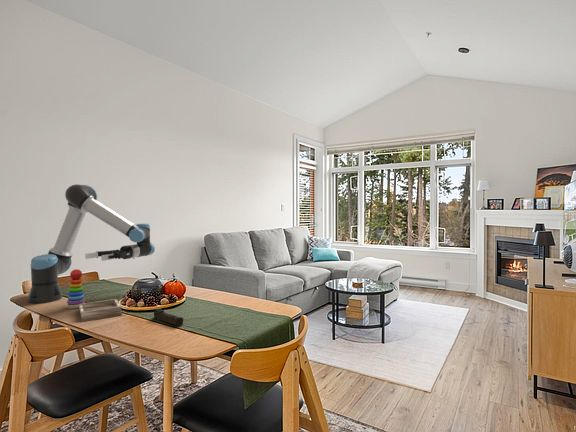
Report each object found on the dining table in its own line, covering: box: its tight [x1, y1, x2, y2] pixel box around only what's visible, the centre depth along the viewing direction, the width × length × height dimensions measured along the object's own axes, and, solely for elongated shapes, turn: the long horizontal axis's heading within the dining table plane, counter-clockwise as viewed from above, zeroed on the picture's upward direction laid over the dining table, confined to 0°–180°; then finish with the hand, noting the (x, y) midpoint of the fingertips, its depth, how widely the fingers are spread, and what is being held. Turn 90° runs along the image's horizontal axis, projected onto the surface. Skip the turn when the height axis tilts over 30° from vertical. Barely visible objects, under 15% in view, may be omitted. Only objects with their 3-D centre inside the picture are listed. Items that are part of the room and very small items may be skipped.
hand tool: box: [153, 308, 184, 328], centre depth 155 cm, size 19×4×5 cm, turn 50°
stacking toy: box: [66, 268, 86, 310], centre depth 176 cm, size 8×8×19 cm
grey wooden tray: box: [78, 298, 123, 323], centre depth 167 cm, size 20×16×4 cm
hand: (93, 257), depth 184 cm, fingers open, 13 cm apart
